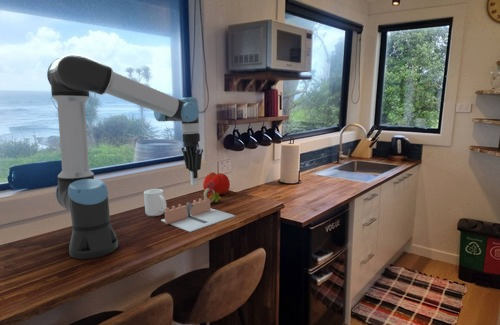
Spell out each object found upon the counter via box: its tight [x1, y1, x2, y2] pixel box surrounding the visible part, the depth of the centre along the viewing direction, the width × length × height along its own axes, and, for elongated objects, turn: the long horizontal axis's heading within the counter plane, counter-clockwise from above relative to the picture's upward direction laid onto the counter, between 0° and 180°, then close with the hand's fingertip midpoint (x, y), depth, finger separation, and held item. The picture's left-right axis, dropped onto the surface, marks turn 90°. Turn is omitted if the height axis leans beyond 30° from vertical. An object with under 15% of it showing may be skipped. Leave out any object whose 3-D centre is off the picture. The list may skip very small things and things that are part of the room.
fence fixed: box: [164, 201, 191, 225], centre depth 144 cm, size 12×1×7 cm, turn 136°
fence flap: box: [190, 196, 211, 216], centre depth 153 cm, size 10×2×6 cm, turn 136°
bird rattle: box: [203, 181, 222, 204], centre depth 169 cm, size 6×11×9 cm
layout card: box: [160, 207, 236, 233], centre depth 147 cm, size 25×20×1 cm
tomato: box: [202, 172, 231, 196], centre depth 185 cm, size 13×14×12 cm
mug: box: [143, 188, 167, 217], centre depth 154 cm, size 12×8×10 cm
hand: (194, 184), depth 158 cm, fingers closed
